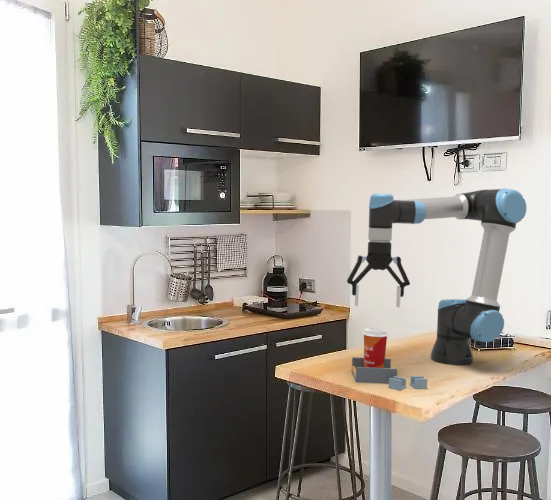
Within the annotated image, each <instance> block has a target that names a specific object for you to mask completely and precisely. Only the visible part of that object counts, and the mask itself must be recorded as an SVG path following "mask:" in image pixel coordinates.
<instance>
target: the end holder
mask: <svg viewBox="0 0 551 500" xmlns="http://www.w3.org/2000/svg"><path fill="white" fill-rule="evenodd" d="M391 365H392V359H391V358H385V361H384V368H372V367H364V357H359V356H358V357H357V356H352V358H351V373H352V375H353V379H354V382H355V383H363V384H365V383H366V384H368V383H369V384H384V385H385V384H386V385H389V378H393V376H397V377H398V368H394V367H393V368H392V367H391Z"/></svg>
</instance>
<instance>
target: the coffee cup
mask: <svg viewBox="0 0 551 500" xmlns="http://www.w3.org/2000/svg"><path fill="white" fill-rule="evenodd" d="M362 335H363V358H364V367H372V368H384V361H385V359H386V350H387V340H388V336H389V333H388V331H387V330H386V329H384V328H379V327H366V328H364V329H363V332H362Z"/></svg>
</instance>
